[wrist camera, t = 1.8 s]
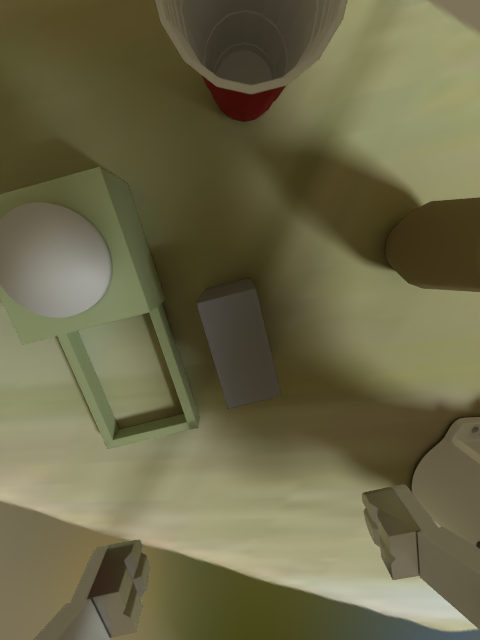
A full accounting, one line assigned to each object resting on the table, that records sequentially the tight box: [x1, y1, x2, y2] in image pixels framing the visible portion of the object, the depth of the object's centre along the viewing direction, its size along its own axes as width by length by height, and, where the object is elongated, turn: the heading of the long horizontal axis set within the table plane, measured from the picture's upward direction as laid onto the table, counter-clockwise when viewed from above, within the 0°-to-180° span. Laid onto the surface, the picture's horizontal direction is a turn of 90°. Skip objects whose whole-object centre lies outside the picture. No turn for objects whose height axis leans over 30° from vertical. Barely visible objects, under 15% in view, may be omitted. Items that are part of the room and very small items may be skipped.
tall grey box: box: [197, 278, 282, 409], centre depth 28 cm, size 5×10×8 cm, turn 14°
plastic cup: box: [155, 0, 347, 122], centre depth 20 cm, size 11×11×12 cm
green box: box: [0, 167, 200, 449], centre depth 28 cm, size 12×27×7 cm, turn 14°
